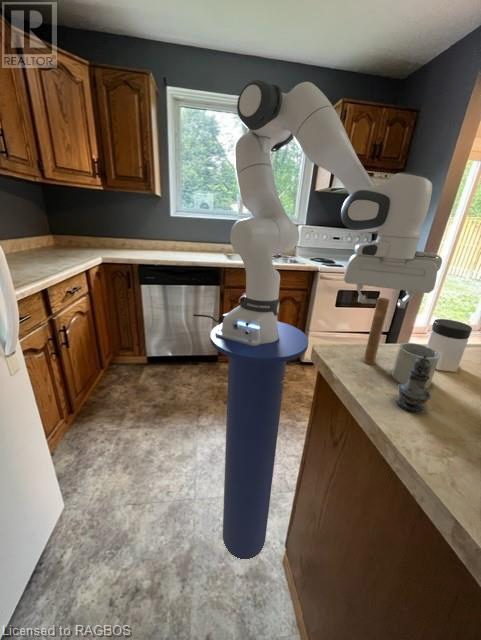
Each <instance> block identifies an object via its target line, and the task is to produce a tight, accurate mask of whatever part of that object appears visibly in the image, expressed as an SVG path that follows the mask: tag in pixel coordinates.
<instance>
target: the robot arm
mask: <svg viewBox="0 0 481 640" xmlns="http://www.w3.org/2000/svg"><path fill="white" fill-rule="evenodd" d="M236 112H237V116H238V117H239V120H240V122H241V124H243V125H244V127H245V128H247V130H248V131H247V132H245V133H243V134H242V135H240V136H239V137H238V138H237V139H236V141H235V143H234V152H233V153H234V154H233V155H234V169H235V175H236V181H237V185H238V191H239V196H240V201H241V204H242V205H243V207H244V208H245V209H246V210H248V211H249V212H250V214H251V215H252V216H251V217H246V218H241V219H238V220H236V222H234V224H233V225H232V227H231V230H230V234H229V240H230V244H231V247H232V248H233V250H234V252H235V253H237V254H238V255H239V257H240V259H241V260H242V263H243V267H244V271H245V292H244V293H243V294H241V296H240V297H239V299H238V304H239V305H238V306H236V307H235V308H233V309H231V310H230V311H229V312H227V313H224V314H222V315H221V316H219V318H218V320H217V319H216V318H214V316H212V315H208V314H195V313H194V314H192V316H193V317H199V318H201V317H202V318H210V319H211V320H213V321H214V322H215V323H220V322H221V321H222V322H221V323H223V324H221V323H220V324H221V325H220V326H219V327H218V328H217V329H216V336H218V337H222V338H225V339H229V340H233V341H236V342H240V343H244V344H247V345H251V346H256V345H259V344H265V343H271V342H275V341H277V340H278V339H279V332H278V324H277V321H278V315H279V312H280V297H279V296H280V286H281V285H280V284H281V274H280V272H279V270H277V269H276V268H275V267H274V263H273V255H282V254H285V253H288V252H290V251H292V250H294V249H295V248H296V247H297V246H298V243H299V241H300V230H299V227H298V226H297V225H296V224H295V223H294V222H293V221H292V220H291V218H290V217H289V215H288V214H287V212H286V210H285V208H284V206H283V204H282V202H281V199H280V197H279V194H278V191H277V190H278V189H277V185H276V181H275V180H276V179H275V177H274V176H275V175H274V172H273V170H274V169H273V165H272V160H271V152H273V153H276V152H278V151H279V150H281V148H283V147H285V146H286V145H288V144H289V143H291V141H293V139H294V141H295V142H296V144H297V146H298V147H299V149H300V151H301V152H302V153H303V154H304V156H305V157H306V158H307V159H308V160H309V162H311V163H313V164H314V165H316V166H318V167H319V168H321V169H323V170H325V171H327V172H329V173H330V174H332V175H333V176H335V177H336V179H338V180H339V181H340V183H341V184H342V186H343V187H344V189H345V190H346V191H347V193H348V196H347V198H346V199H345V200H344V202H343V204H342V206H341V209H340V218H341V222H342V224H343V225H344V226H345V227H346V228H347V229H349V230H351V231H354V232H357V233H358V232H359V233H360V232H361V233H367V234H368V233H369V234H375V235H377V236H376V239H375V240H370V241H366V242H365V241H364V242H360V243H357V244H355V246H354V254H352V255H351V256H350V257H349V259H348V261H347V264H346V267H345V270H344V273H343V281H344V282H345V283H346V284H349V285H355V288H356V291H357V293H358V297H357V302H358V303H365V301H366V297H367V296H366V294H362V291H361V290H363V289H364V286H365V287H367V286H368V287H372V288H373V287H375V288H381V289H391V290H397V291H399V290H400V291H405V294H406V295H405V296H404V297H403V298H402V299H400V298H398V300H397V304H396V307H397V308H398V309H399V308H401V309H406V306H407V303H408V302H409V301H410V300H411V299H413V297H415V294H416V293H423V294H429V293H432V292H433V291H434V290H435V288H436V287H435V286H436V283H437V279H438V278H437V277H438V272H439V271H440V269H441V268H442V265H443V258H442V257H441V256H440V255H439V254H438V253H436V252H425V251H417V250H418V247H419V243H420V240H421V228H422V226H423V224H424V222H425V220H426V218H427V215H428V211H429V209H430V208H429V207H430V203H431V200H432V198H431V197H432V193H433V183H432V181H431V180H430V178H429V177H427V176H425V175H423V174H420V173H416V172H410V171H407V172H406V171H401V172H397V173H395V174H393V176H391V177H390V178H388V179H386V180H384V181H383V182H381V183H379V184H376V183H375V182H374V180H373V179H372V177H371V176H370V174H369V173H368V171H367V169H366V168H365V167H364V165H363V163H362V162H361V160H360V158H359V157H358V155H357V153H356V150H355V149H354V147H353V144H352V142H351V140H350V138H349V136H348V133H347V131H346V129H345V126H344V125H343V122H342V119H341V118H340V116H339V114H338V113H337V111H336V109H335V107H334V106H333V104H332V102H331V101H330V100H329V98H327V96H326V95H325V93H323V92H322V91H321V89H319V87H317V86H316V84H314V83H313V82H311V81H303V82H300V83H298V84H296V85H295V86H293V88H292V89H291V90H290V91H289V92H287V93H285V92H283V91H282V88H281V86H280V85H277V84H273V83H270V82H268V81H265V80H260V79H253V80H252V81H251V80H250V81H249V82H248V83H247V84H245V85H244V86H243V88H242V89H241V91H240V93H239V96H238V99H237V104H236Z"/></svg>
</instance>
